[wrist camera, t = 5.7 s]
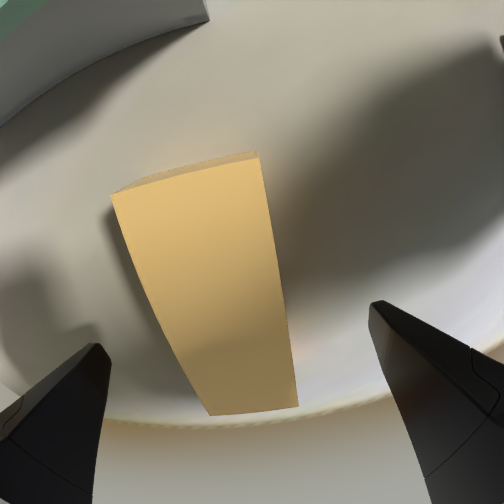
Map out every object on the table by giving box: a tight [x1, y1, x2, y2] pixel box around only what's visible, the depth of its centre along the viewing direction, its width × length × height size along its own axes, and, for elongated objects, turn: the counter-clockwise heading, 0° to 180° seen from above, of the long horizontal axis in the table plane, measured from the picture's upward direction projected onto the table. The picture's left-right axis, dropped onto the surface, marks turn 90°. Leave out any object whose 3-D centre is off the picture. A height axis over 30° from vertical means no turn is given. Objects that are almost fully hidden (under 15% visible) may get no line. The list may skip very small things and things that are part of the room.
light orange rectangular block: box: [110, 151, 299, 416], centre depth 10 cm, size 4×10×3 cm, turn 11°
